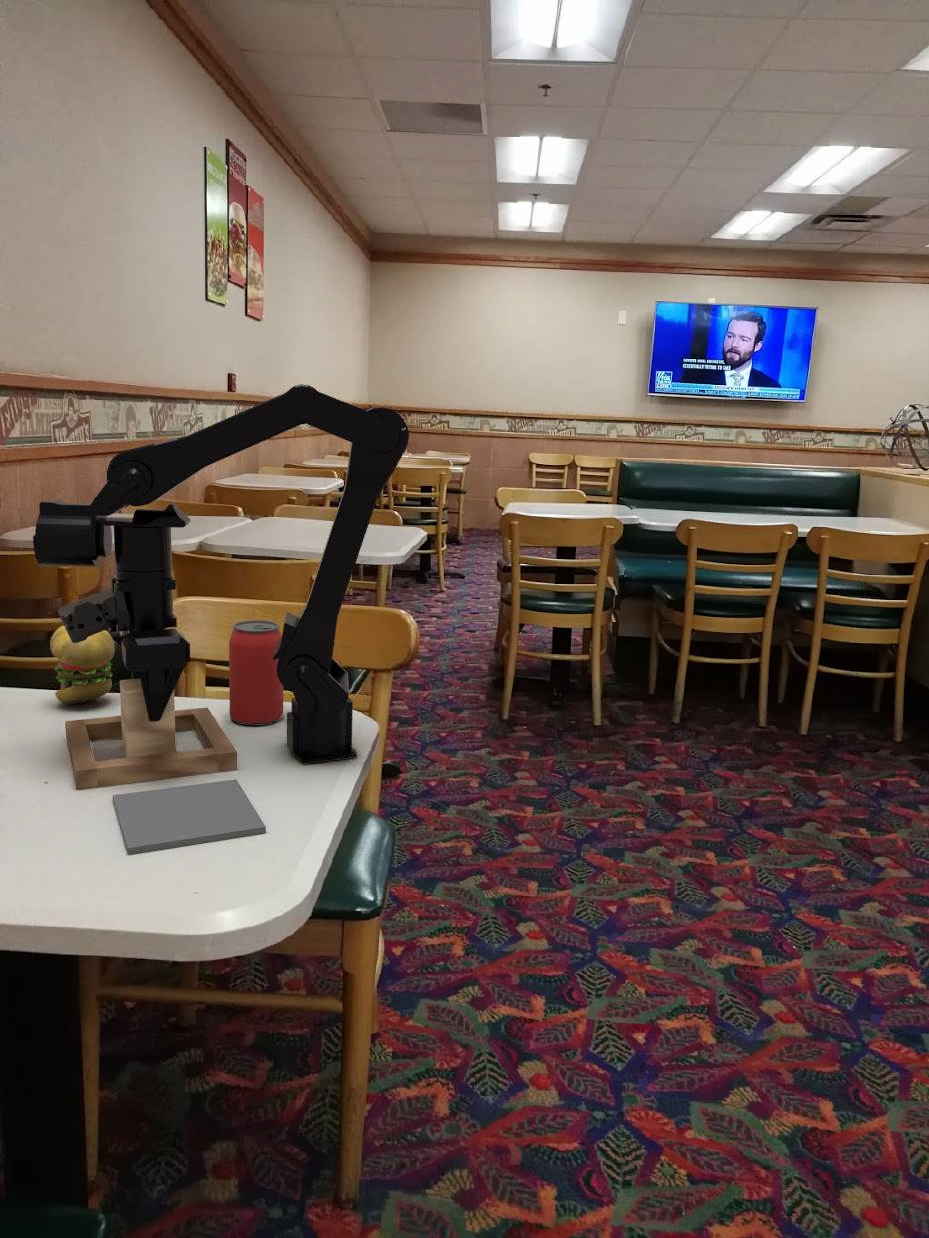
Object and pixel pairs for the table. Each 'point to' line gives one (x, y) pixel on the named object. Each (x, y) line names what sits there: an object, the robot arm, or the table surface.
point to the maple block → (144, 724)
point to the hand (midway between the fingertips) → (148, 708)
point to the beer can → (254, 673)
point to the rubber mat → (185, 816)
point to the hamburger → (82, 665)
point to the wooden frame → (150, 767)
